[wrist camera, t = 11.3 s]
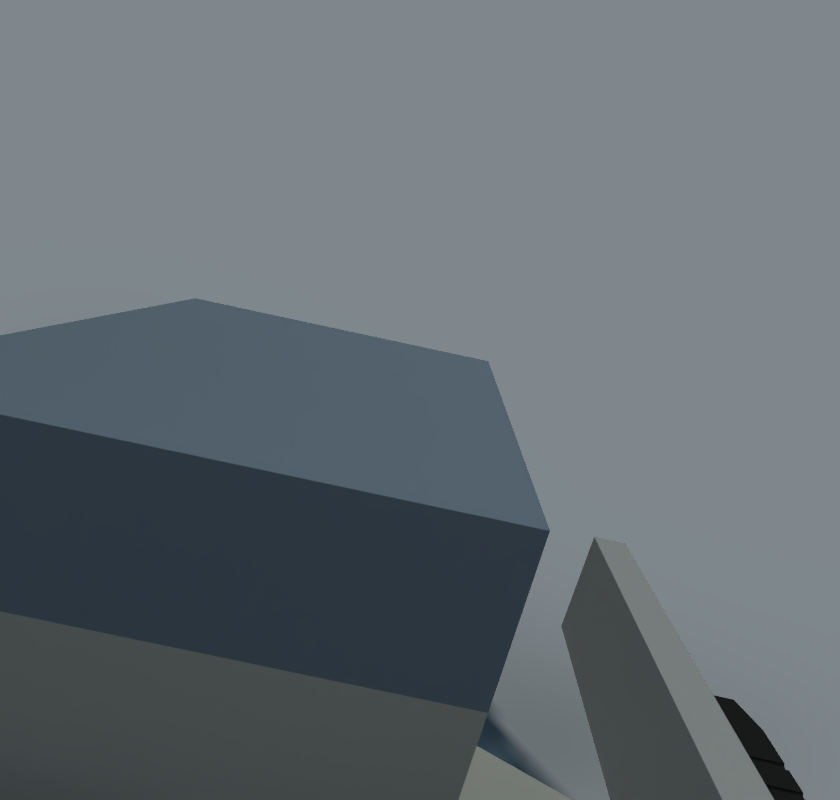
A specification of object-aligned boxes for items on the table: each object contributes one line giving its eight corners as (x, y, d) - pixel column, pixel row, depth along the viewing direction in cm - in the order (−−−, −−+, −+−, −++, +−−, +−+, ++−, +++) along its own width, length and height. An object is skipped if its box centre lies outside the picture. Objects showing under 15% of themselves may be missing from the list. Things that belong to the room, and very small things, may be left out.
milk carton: (-30, 1151, 8) (-197, 371, 4) (169, 776, 14) (195, 298, 9) (316, 1219, 8) (550, 530, 4) (370, 817, 14) (488, 361, 9)
